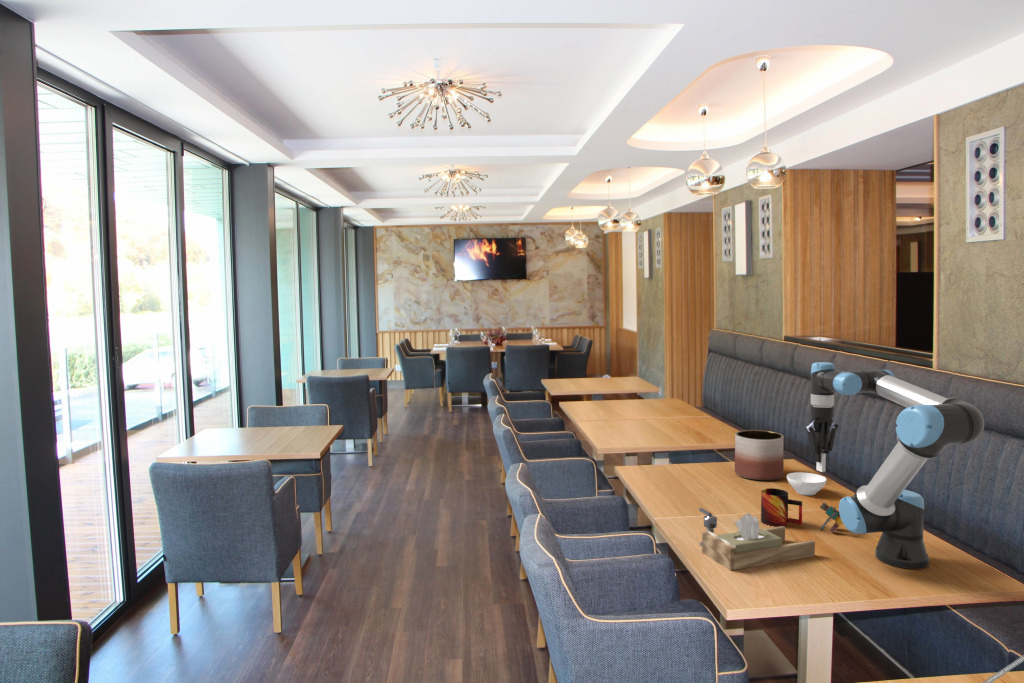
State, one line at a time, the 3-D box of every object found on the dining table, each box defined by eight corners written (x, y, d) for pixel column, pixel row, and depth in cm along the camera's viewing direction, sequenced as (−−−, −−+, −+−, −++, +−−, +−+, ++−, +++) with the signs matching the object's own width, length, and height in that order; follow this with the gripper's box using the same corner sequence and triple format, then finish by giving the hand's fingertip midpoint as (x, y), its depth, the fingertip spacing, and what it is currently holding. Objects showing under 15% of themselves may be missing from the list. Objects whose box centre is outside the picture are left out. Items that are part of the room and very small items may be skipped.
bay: (814, 555, 218) (815, 533, 218) (730, 570, 208) (730, 547, 208) (782, 539, 233) (782, 518, 232) (702, 552, 223) (702, 530, 222)
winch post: (720, 548, 226) (720, 514, 225) (708, 550, 224) (708, 516, 223) (706, 539, 234) (706, 507, 233) (694, 541, 232) (694, 508, 232)
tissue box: (763, 550, 224) (764, 506, 223) (782, 561, 215) (783, 515, 214) (716, 558, 219) (716, 512, 218) (733, 569, 210) (734, 521, 208)
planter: (770, 468, 325) (770, 429, 324) (792, 481, 303) (792, 438, 302) (727, 470, 324) (727, 430, 323) (746, 482, 302) (746, 440, 301)
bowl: (831, 499, 276) (831, 483, 276) (791, 498, 279) (792, 482, 278) (819, 488, 292) (820, 472, 292) (782, 487, 295) (782, 471, 294)
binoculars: (828, 540, 237) (845, 520, 233) (806, 522, 241) (822, 503, 237) (834, 532, 244) (850, 513, 241) (812, 515, 249) (828, 496, 245)
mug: (802, 527, 244) (803, 496, 243) (764, 526, 246) (764, 495, 245) (795, 518, 254) (795, 488, 253) (758, 517, 256) (758, 488, 255)
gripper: (828, 402, 237) (827, 466, 238) (799, 405, 233) (798, 470, 234) (845, 406, 230) (843, 471, 231) (815, 408, 226) (814, 475, 227)
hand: (820, 470), depth 233 cm, fingers closed
